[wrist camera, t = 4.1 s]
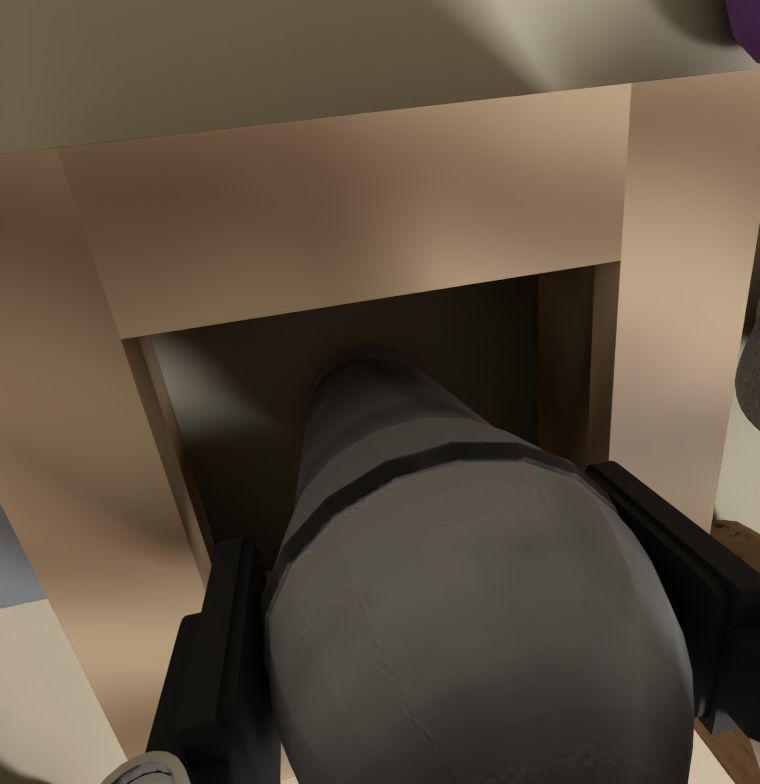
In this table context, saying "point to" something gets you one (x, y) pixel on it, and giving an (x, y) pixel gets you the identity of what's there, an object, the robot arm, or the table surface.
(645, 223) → the box
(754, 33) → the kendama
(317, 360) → the table surface
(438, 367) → the table surface
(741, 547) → the block
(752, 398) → the toy boat
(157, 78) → the table surface
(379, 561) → the beverage cup
